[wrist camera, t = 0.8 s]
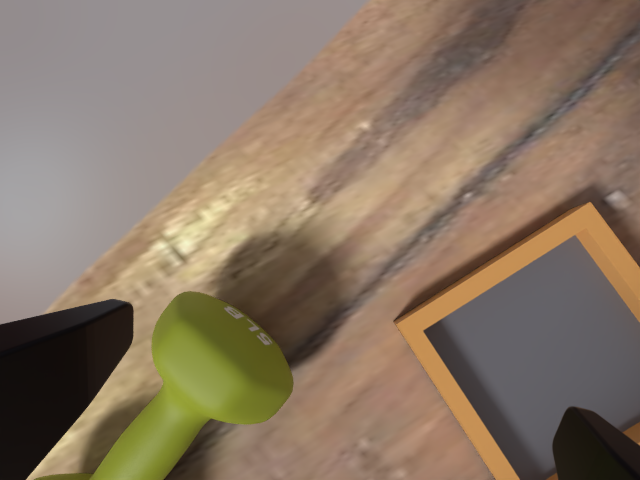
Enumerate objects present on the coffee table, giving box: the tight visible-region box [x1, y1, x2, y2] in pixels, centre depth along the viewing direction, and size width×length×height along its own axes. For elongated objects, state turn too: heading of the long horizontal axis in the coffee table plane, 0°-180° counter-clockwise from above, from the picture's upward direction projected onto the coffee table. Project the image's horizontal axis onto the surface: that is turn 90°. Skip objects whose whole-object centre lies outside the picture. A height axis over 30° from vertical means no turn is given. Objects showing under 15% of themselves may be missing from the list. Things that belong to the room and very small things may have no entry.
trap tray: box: [394, 202, 640, 480], centre depth 23 cm, size 12×12×2 cm
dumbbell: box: [34, 291, 293, 480], centre depth 22 cm, size 16×8×7 cm, turn 140°
